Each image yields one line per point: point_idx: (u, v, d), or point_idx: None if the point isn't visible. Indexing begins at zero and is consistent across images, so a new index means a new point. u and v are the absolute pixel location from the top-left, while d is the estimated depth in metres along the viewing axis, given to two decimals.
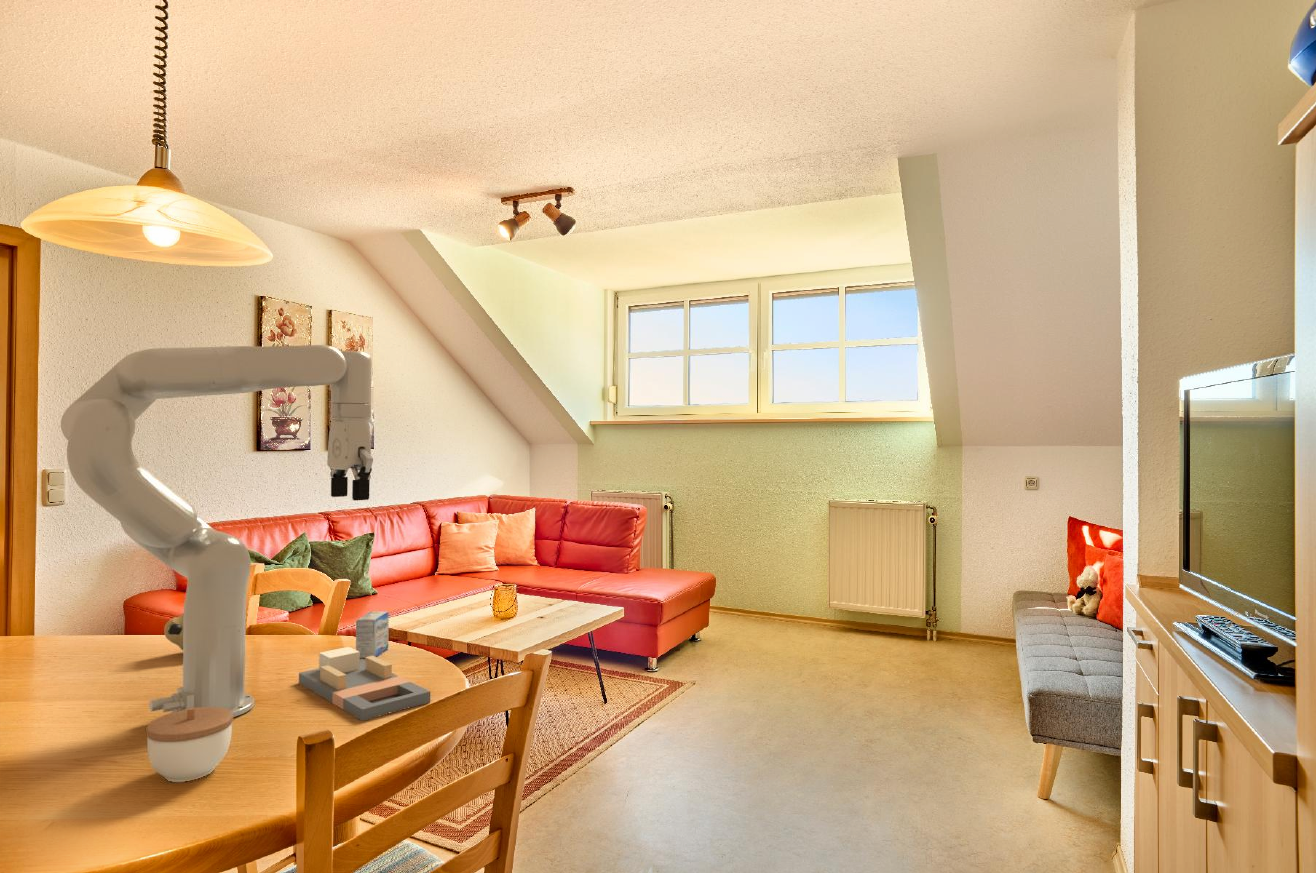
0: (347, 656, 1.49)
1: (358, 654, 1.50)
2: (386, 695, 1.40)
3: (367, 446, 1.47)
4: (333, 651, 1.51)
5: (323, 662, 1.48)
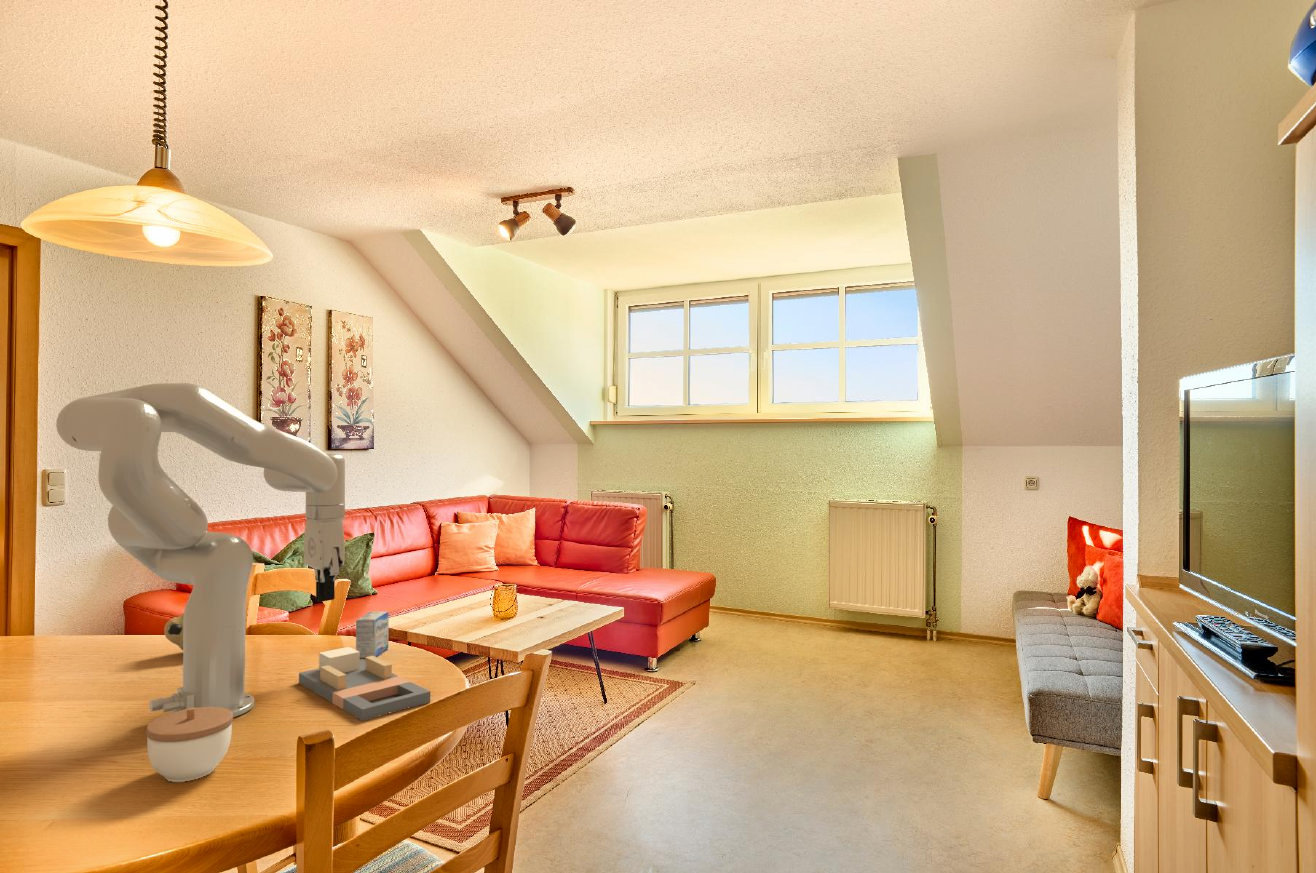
0: (347, 656, 1.49)
1: (358, 654, 1.50)
2: (386, 695, 1.40)
3: (341, 545, 1.53)
4: (333, 651, 1.51)
5: (323, 662, 1.48)
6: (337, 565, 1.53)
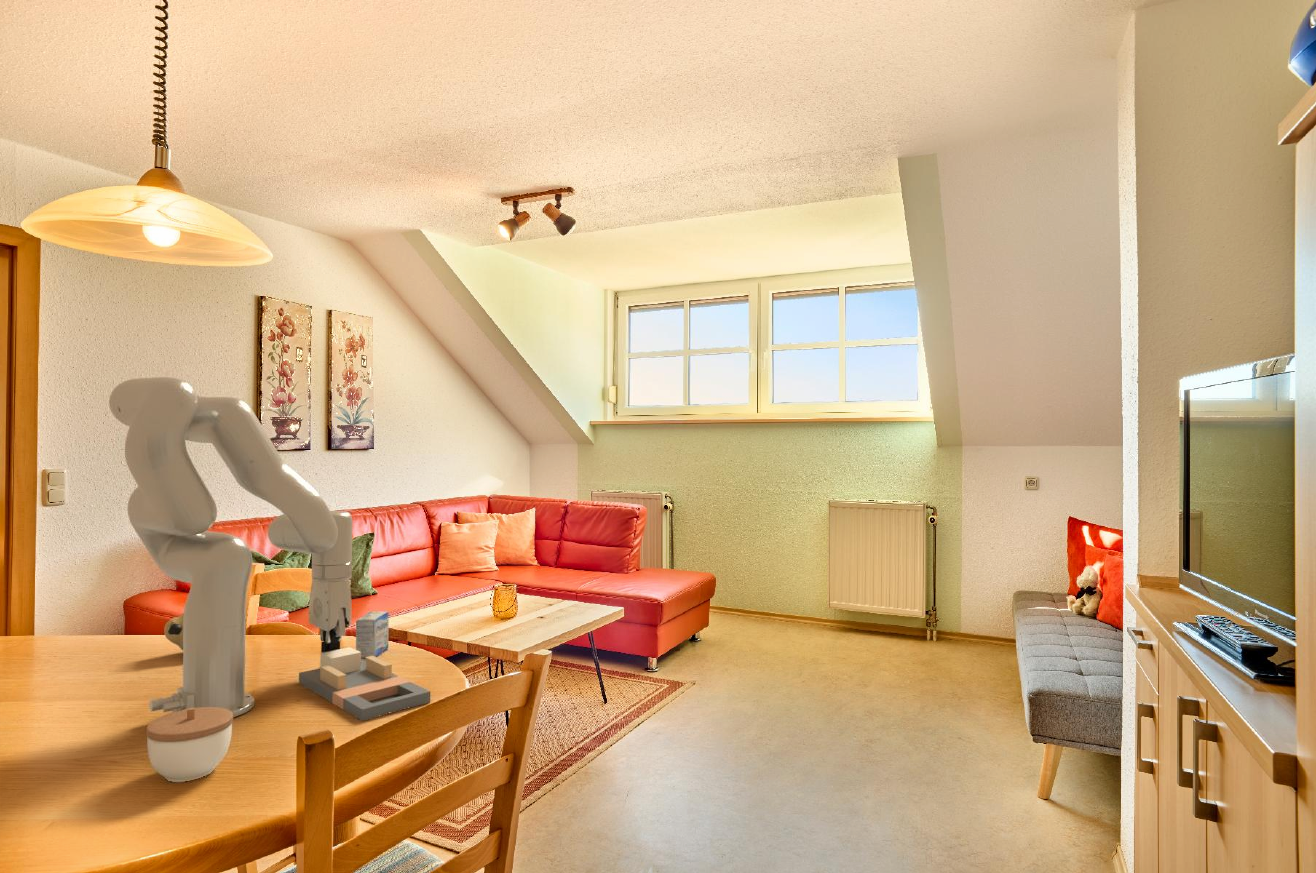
0: (348, 656, 1.49)
1: (359, 654, 1.50)
2: (386, 695, 1.40)
3: (348, 606, 1.51)
4: (334, 651, 1.50)
5: (324, 662, 1.48)
6: (343, 626, 1.50)
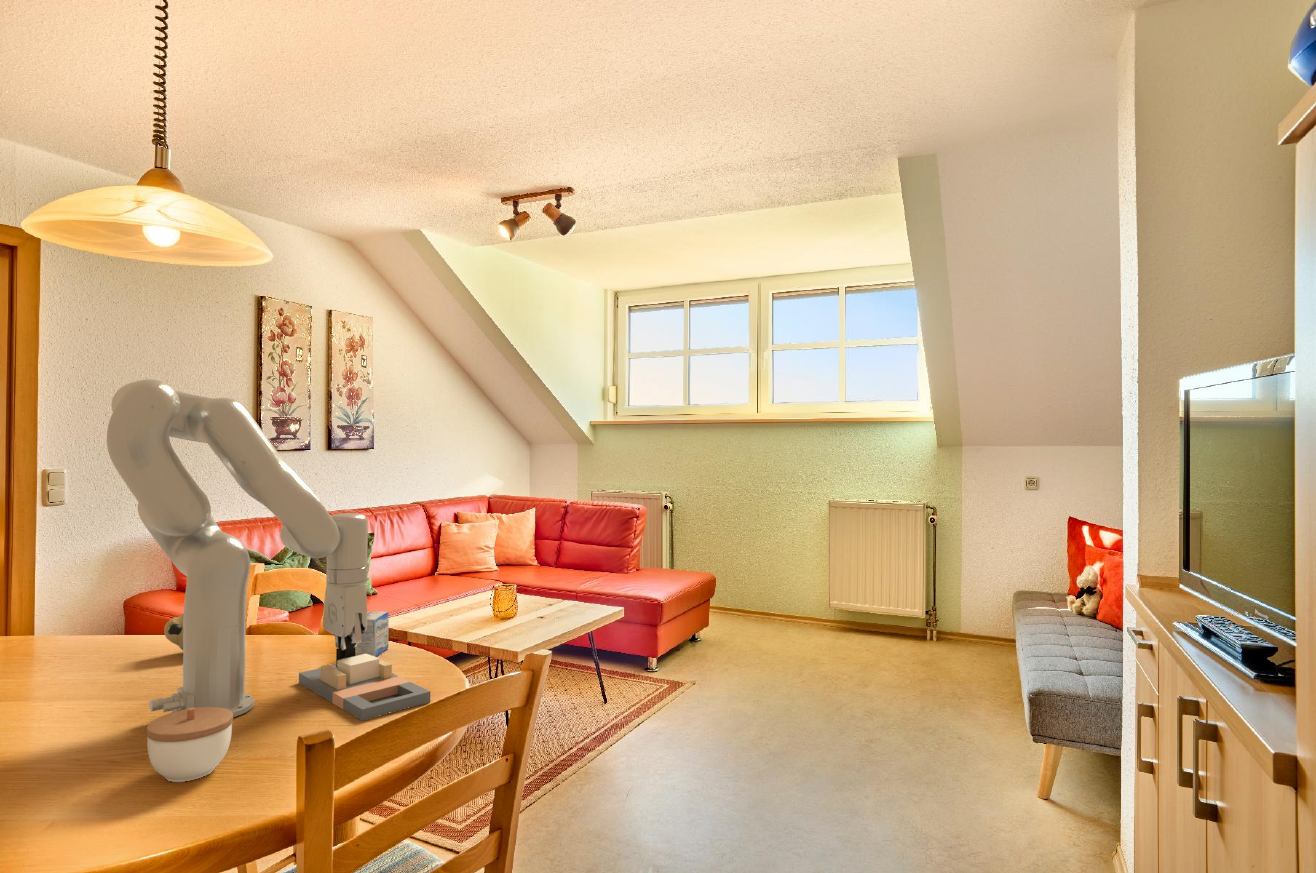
0: (367, 663, 1.44)
1: (378, 661, 1.46)
2: (386, 695, 1.40)
3: (364, 611, 1.46)
4: (351, 658, 1.46)
5: (342, 670, 1.44)
6: (359, 632, 1.45)
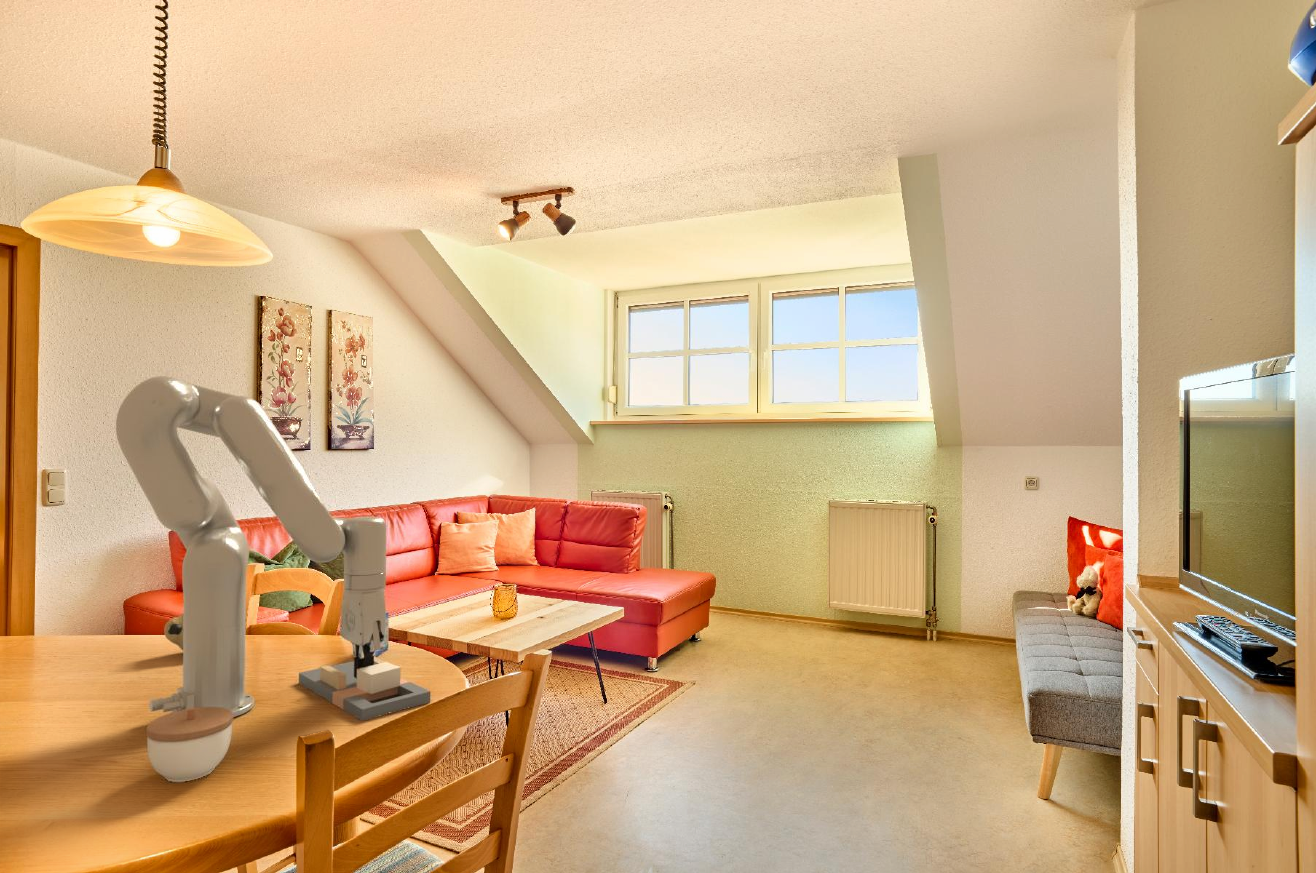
0: (388, 672, 1.39)
1: (399, 670, 1.41)
2: (386, 695, 1.40)
3: (382, 618, 1.41)
4: (371, 667, 1.41)
5: (362, 679, 1.39)
6: (378, 640, 1.40)
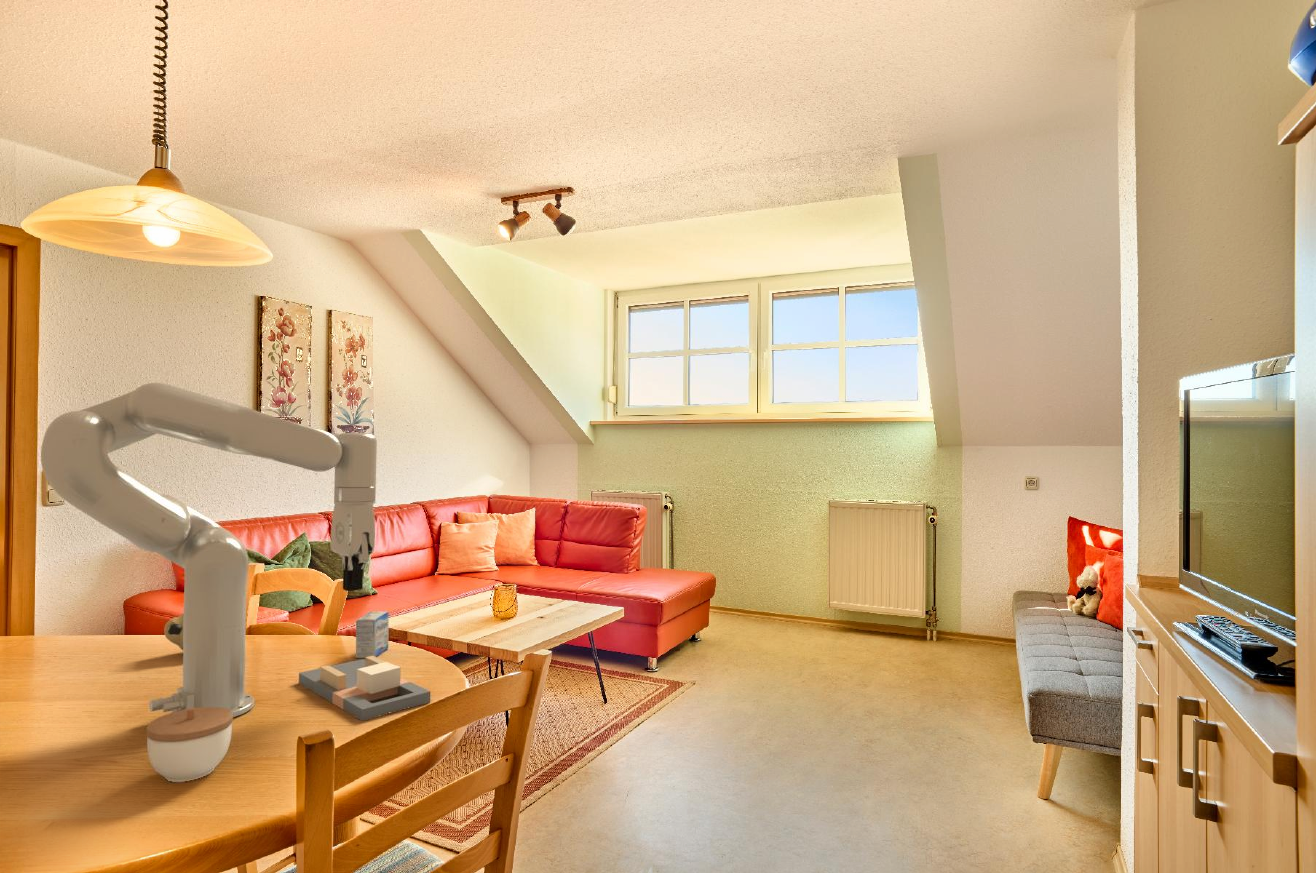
0: (388, 672, 1.39)
1: (399, 670, 1.41)
2: (386, 695, 1.40)
3: (371, 531, 1.43)
4: (371, 667, 1.41)
5: (362, 679, 1.39)
6: (367, 552, 1.43)
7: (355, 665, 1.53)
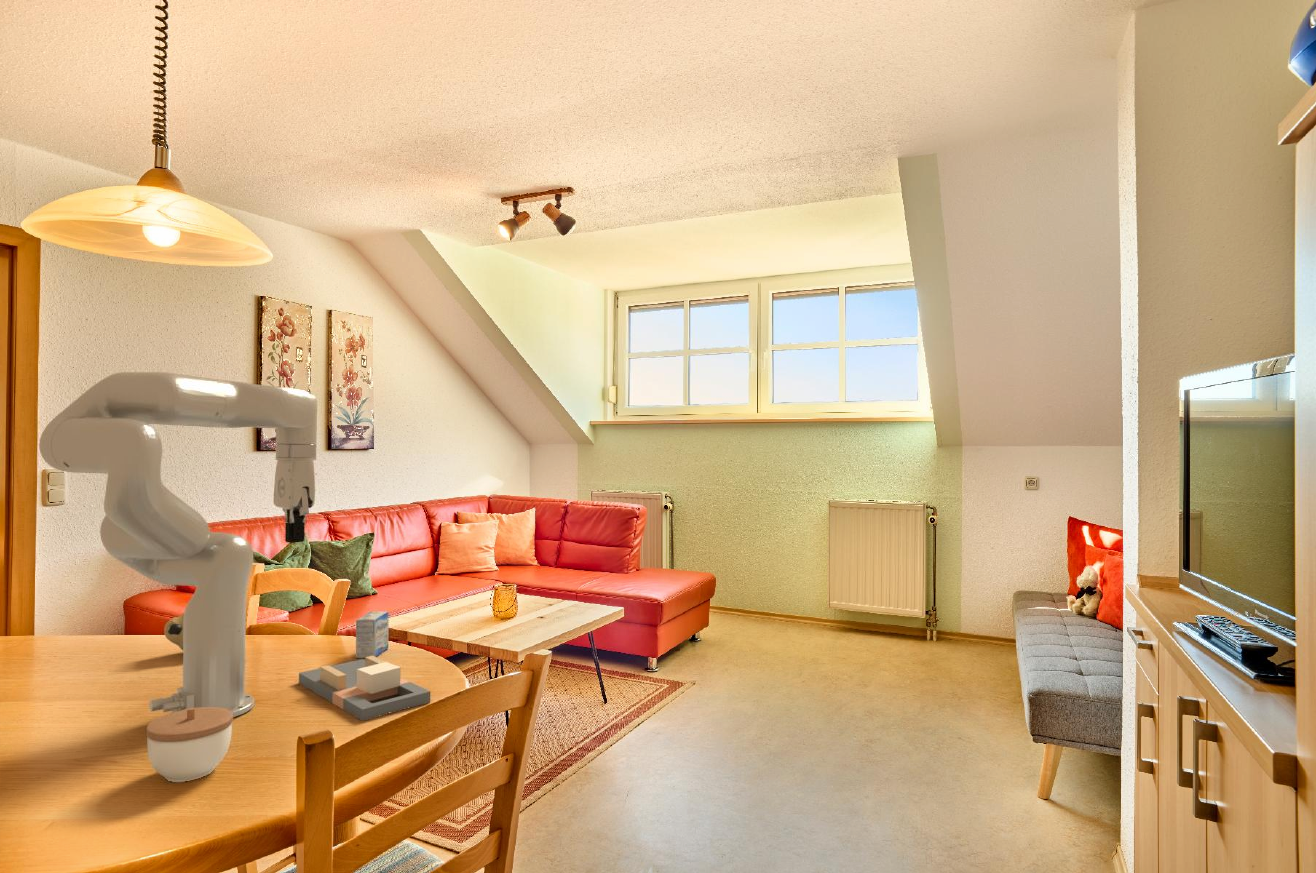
0: (388, 672, 1.39)
1: (399, 670, 1.41)
2: (386, 695, 1.40)
3: (311, 485, 1.51)
4: (371, 667, 1.41)
5: (362, 679, 1.39)
6: (307, 505, 1.50)
7: (355, 665, 1.53)
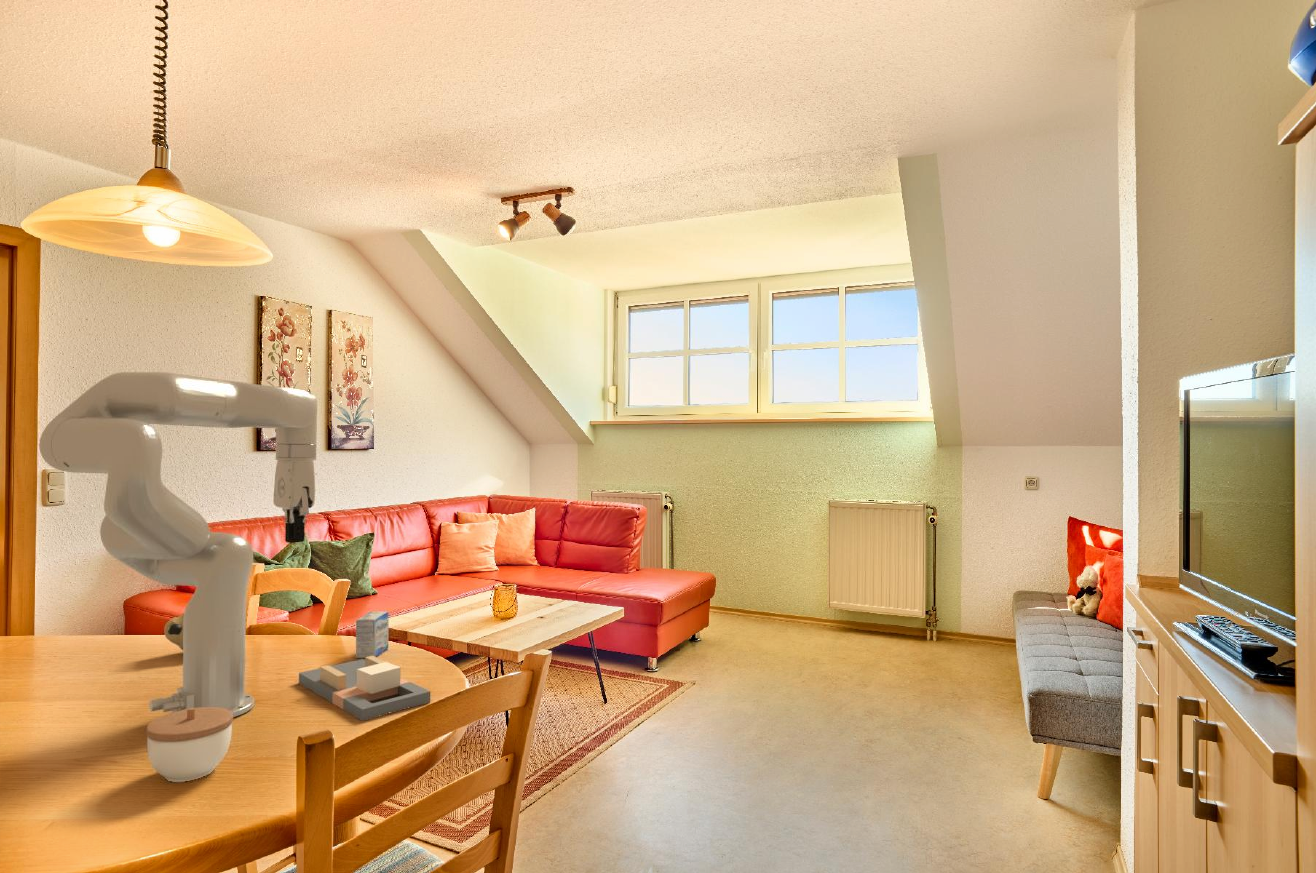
0: (388, 672, 1.39)
1: (399, 670, 1.41)
2: (386, 695, 1.40)
3: (311, 485, 1.51)
4: (371, 667, 1.41)
5: (362, 679, 1.39)
6: (307, 505, 1.50)
7: (355, 665, 1.53)
